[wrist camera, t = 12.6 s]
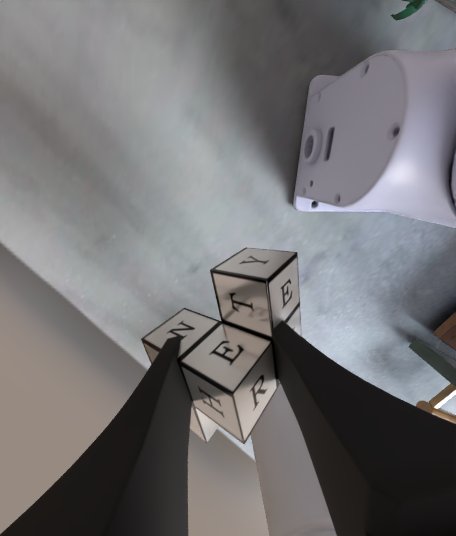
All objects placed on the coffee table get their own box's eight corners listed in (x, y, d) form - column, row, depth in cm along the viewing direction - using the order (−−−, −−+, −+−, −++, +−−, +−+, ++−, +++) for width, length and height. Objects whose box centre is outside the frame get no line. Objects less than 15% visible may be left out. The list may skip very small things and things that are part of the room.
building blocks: (253, 483, 9) (216, 326, 6) (172, 413, 12) (120, 288, 9) (303, 383, 13) (297, 252, 10) (230, 350, 16) (207, 244, 13)
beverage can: (272, 400, 26) (325, 572, 15) (233, 391, 24) (260, 572, 13) (293, 370, 24) (370, 537, 13) (253, 359, 23) (302, 534, 12)
